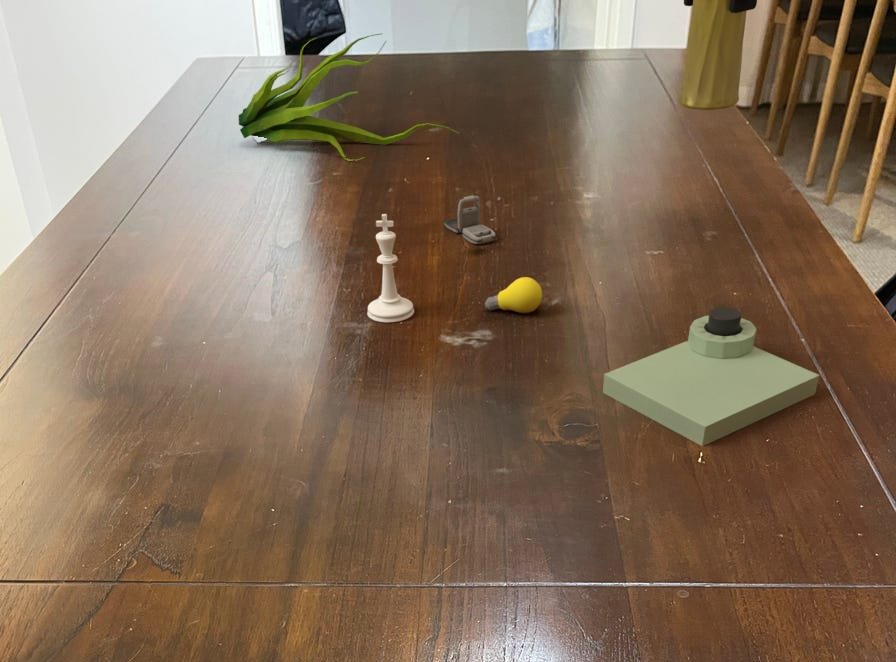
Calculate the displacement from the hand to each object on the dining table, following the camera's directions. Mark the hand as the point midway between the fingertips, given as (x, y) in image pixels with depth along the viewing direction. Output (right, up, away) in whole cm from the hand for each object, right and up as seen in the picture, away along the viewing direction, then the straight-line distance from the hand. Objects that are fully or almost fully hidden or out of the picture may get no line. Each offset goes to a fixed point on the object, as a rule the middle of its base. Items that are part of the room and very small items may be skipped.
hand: (719, 5), depth 101 cm
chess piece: (-33, -29, +5) cm, 45 cm away
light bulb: (-20, -30, +4) cm, 36 cm away
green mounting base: (-4, -42, -11) cm, 44 cm away
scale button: (-2, -36, -9) cm, 37 cm away
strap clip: (-24, -14, +21) cm, 35 cm away
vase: (+1, -7, +6) cm, 9 cm away
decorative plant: (-41, +11, +51) cm, 66 cm away
